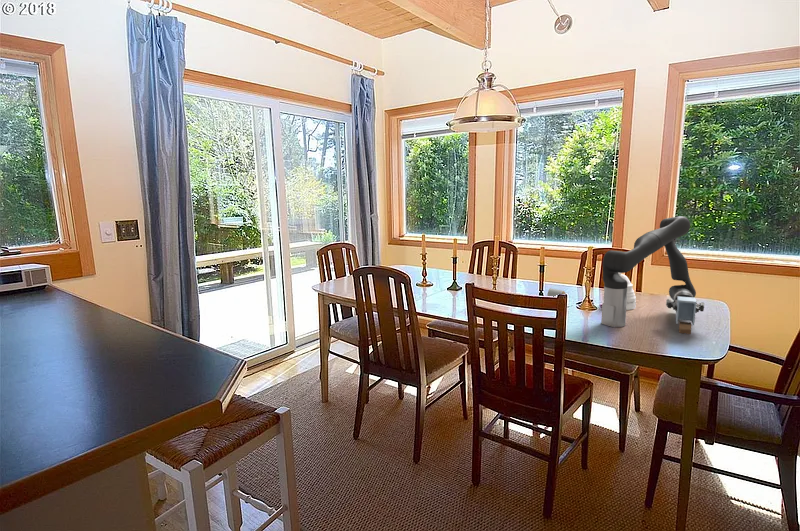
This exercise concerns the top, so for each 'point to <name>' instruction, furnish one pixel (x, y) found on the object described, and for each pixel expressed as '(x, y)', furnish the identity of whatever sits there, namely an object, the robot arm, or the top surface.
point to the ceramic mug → (555, 292)
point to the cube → (685, 327)
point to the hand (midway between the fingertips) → (686, 309)
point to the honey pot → (629, 294)
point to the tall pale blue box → (686, 309)
